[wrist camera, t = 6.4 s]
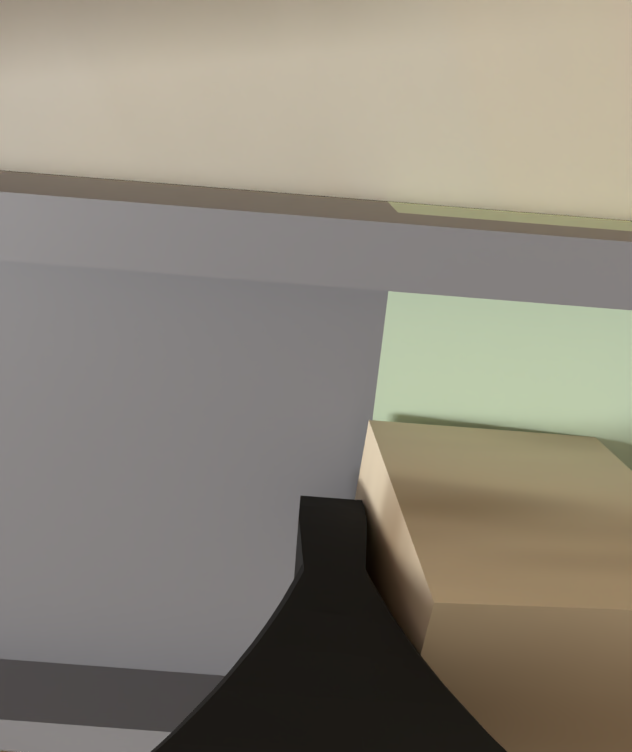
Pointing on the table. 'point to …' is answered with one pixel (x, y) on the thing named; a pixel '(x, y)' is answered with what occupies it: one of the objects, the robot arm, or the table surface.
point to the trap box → (245, 409)
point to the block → (509, 575)
